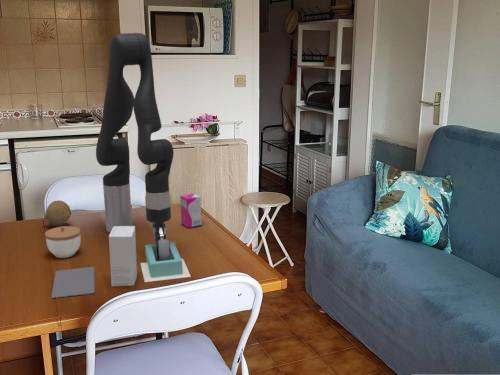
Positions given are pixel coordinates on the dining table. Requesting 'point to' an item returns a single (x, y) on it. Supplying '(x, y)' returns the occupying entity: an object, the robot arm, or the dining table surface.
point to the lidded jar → (63, 241)
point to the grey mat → (73, 282)
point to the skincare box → (123, 255)
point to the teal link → (163, 266)
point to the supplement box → (191, 210)
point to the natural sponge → (57, 213)
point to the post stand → (162, 257)
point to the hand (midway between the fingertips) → (160, 257)
